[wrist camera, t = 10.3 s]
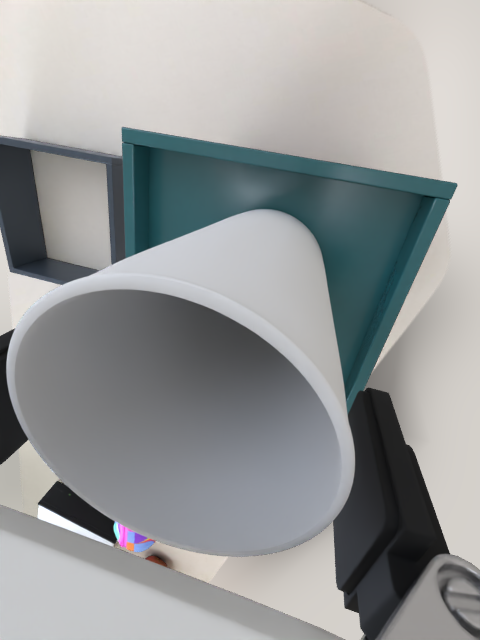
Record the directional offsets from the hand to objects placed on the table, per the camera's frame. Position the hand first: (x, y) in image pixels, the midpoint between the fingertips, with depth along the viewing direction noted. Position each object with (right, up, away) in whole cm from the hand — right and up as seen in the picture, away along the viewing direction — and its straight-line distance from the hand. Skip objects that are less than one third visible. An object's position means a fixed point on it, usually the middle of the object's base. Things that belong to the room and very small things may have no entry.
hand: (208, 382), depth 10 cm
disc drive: (-35, -46, +60) cm, 83 cm away
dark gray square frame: (-17, +14, +26) cm, 34 cm away
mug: (+2, +4, +7) cm, 8 cm away
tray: (+2, +4, +8) cm, 8 cm away
